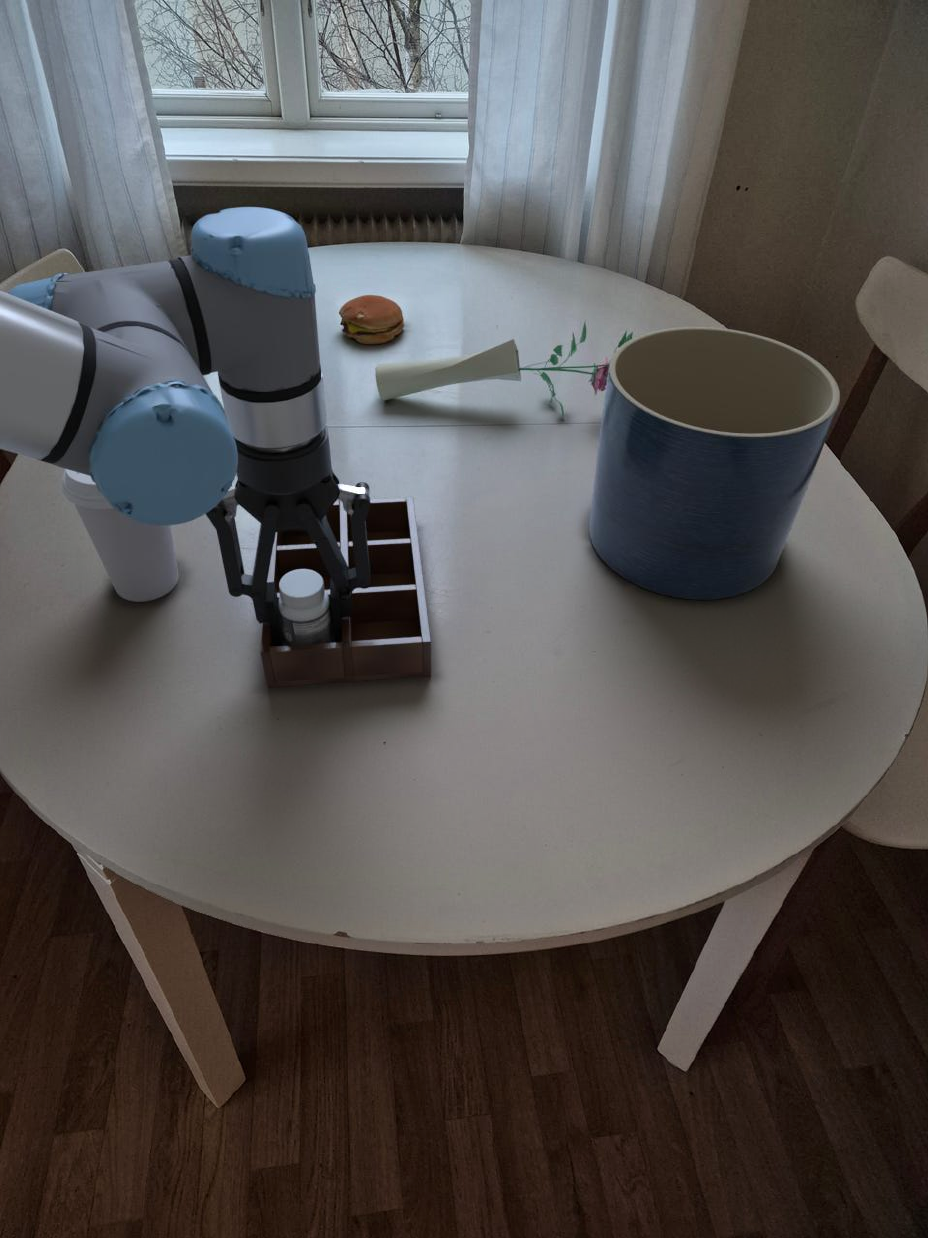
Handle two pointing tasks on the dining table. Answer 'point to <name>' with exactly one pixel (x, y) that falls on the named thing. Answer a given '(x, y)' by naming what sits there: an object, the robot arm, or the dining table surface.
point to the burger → (371, 319)
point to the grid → (359, 603)
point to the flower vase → (477, 370)
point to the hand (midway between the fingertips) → (309, 640)
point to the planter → (705, 458)
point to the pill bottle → (304, 608)
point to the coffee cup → (124, 543)
